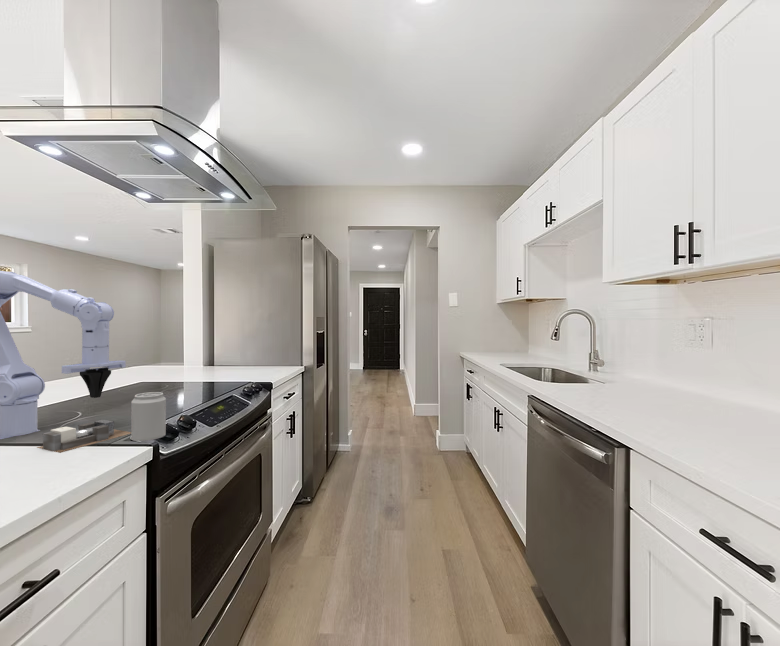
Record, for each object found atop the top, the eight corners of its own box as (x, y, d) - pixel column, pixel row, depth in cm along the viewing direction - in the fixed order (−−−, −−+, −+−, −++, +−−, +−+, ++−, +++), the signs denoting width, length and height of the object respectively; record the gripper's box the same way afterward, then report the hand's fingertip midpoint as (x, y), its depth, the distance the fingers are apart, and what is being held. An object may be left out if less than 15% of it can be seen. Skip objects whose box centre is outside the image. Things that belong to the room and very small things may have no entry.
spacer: (50, 446, 87) (50, 429, 87) (65, 443, 90) (65, 426, 90) (60, 449, 85) (61, 431, 85) (75, 445, 88) (76, 428, 88)
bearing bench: (36, 451, 86) (36, 432, 86) (111, 432, 102) (111, 415, 102) (60, 457, 83) (60, 437, 83) (133, 436, 98) (133, 419, 98)
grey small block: (65, 442, 90) (65, 427, 90) (102, 432, 97) (102, 419, 97) (76, 444, 88) (76, 430, 88) (113, 434, 96) (113, 421, 96)
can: (148, 446, 91) (149, 397, 91) (123, 443, 93) (123, 395, 92) (172, 436, 98) (172, 391, 98) (148, 434, 100) (148, 390, 100)
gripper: (73, 349, 92) (73, 403, 92) (133, 345, 105) (132, 393, 105) (56, 348, 94) (56, 401, 94) (116, 344, 108) (116, 391, 108)
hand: (95, 397), depth 100 cm, fingers closed
